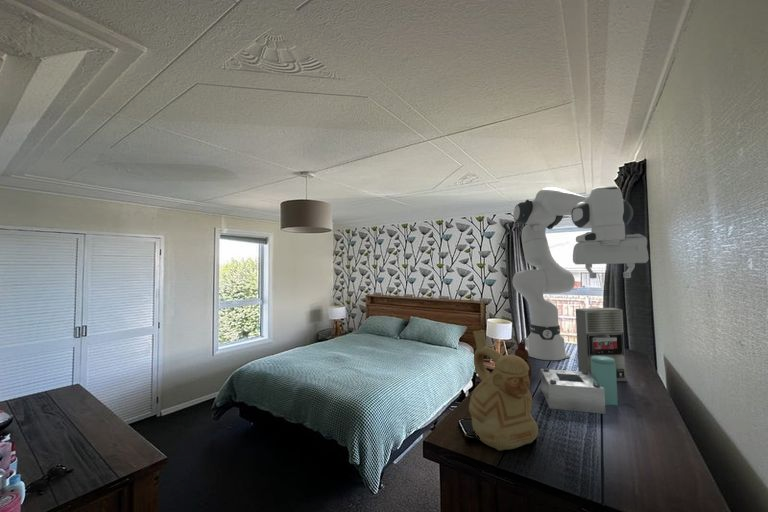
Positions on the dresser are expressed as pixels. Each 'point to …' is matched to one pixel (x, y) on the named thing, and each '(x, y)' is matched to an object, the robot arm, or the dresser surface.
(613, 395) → the cover plug
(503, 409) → the ceramic vessel
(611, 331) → the cassette tape recorder
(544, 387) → the housing
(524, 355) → the wooden figurine
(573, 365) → the dresser surface
